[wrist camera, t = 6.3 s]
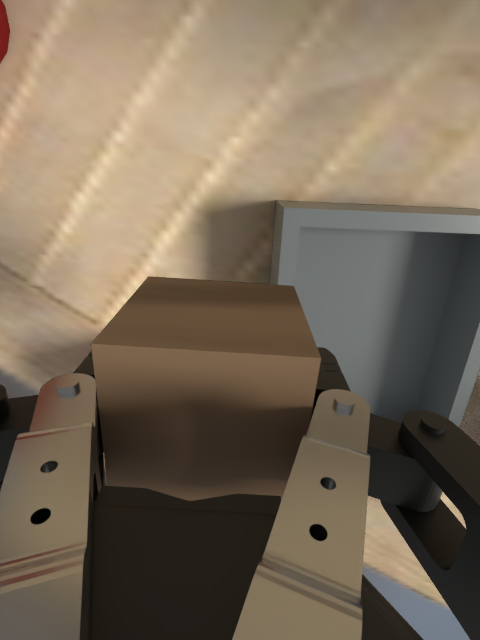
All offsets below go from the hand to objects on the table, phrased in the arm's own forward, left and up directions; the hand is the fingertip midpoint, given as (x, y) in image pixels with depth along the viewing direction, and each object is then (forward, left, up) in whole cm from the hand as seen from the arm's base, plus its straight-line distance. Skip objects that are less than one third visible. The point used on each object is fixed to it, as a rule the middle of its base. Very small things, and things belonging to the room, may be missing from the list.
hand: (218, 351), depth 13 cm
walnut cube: (0, 0, 0) cm, 0 cm away
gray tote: (+5, +10, -14) cm, 18 cm away
